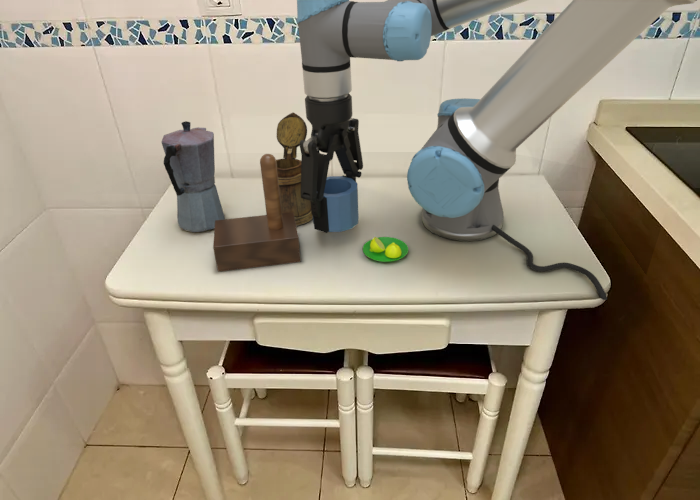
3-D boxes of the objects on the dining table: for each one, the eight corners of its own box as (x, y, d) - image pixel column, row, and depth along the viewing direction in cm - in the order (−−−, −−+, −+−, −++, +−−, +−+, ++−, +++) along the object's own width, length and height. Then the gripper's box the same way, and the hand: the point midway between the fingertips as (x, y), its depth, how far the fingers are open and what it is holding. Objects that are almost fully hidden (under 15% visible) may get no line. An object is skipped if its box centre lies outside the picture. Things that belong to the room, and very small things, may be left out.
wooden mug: (321, 195, 110) (316, 112, 100) (310, 227, 99) (303, 137, 89) (280, 194, 111) (271, 111, 101) (265, 226, 100) (253, 136, 90)
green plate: (363, 265, 88) (363, 251, 86) (361, 240, 95) (361, 227, 93) (410, 263, 88) (411, 250, 87) (405, 239, 95) (406, 225, 93)
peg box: (295, 235, 97) (286, 142, 87) (300, 261, 89) (291, 163, 79) (219, 243, 95) (201, 149, 85) (218, 271, 87) (198, 172, 77)
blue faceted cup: (367, 216, 96) (366, 181, 92) (341, 236, 90) (339, 200, 86) (330, 206, 100) (328, 172, 96) (304, 224, 94) (301, 190, 90)
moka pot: (238, 205, 107) (222, 110, 96) (212, 245, 94) (191, 141, 83) (193, 203, 108) (173, 109, 97) (162, 243, 96) (135, 140, 85)
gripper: (345, 76, 91) (350, 192, 104) (266, 110, 77) (283, 240, 89) (382, 81, 88) (383, 200, 100) (306, 117, 73) (318, 252, 86)
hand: (336, 219), depth 95 cm, fingers closed on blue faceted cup, 8 cm apart
